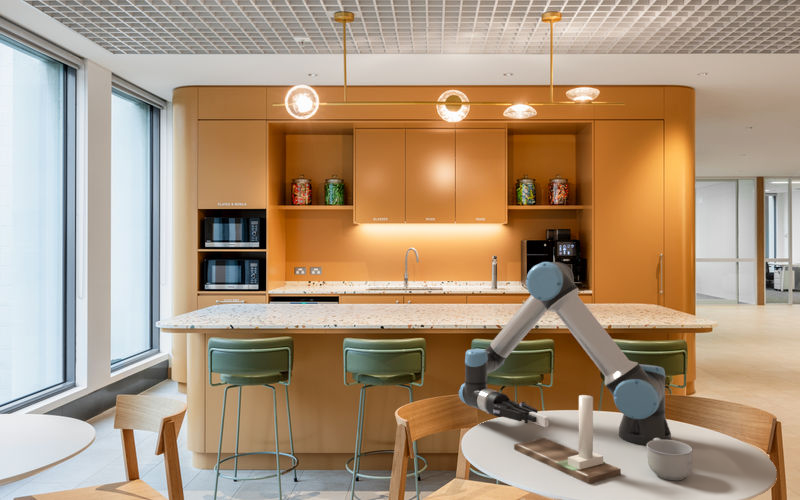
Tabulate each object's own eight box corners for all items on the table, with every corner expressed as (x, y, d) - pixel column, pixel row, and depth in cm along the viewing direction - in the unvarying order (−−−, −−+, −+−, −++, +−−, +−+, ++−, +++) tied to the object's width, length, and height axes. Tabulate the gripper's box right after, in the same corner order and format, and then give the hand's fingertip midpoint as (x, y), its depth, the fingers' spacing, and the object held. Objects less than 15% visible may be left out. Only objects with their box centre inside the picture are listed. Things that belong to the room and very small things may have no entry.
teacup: (698, 486, 140) (698, 454, 140) (651, 482, 142) (651, 451, 142) (681, 465, 154) (681, 436, 154) (639, 462, 156) (639, 433, 156)
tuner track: (514, 449, 165) (514, 443, 165) (544, 442, 171) (544, 437, 171) (588, 483, 141) (588, 477, 141) (620, 474, 147) (620, 468, 147)
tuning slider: (567, 464, 149) (568, 397, 149) (591, 458, 153) (591, 393, 153) (579, 469, 145) (579, 400, 145) (603, 463, 150) (603, 396, 150)
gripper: (509, 411, 186) (562, 431, 165) (478, 417, 179) (529, 438, 159) (509, 388, 186) (562, 406, 165) (478, 393, 179) (529, 412, 159)
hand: (546, 422), depth 162 cm, fingers closed
